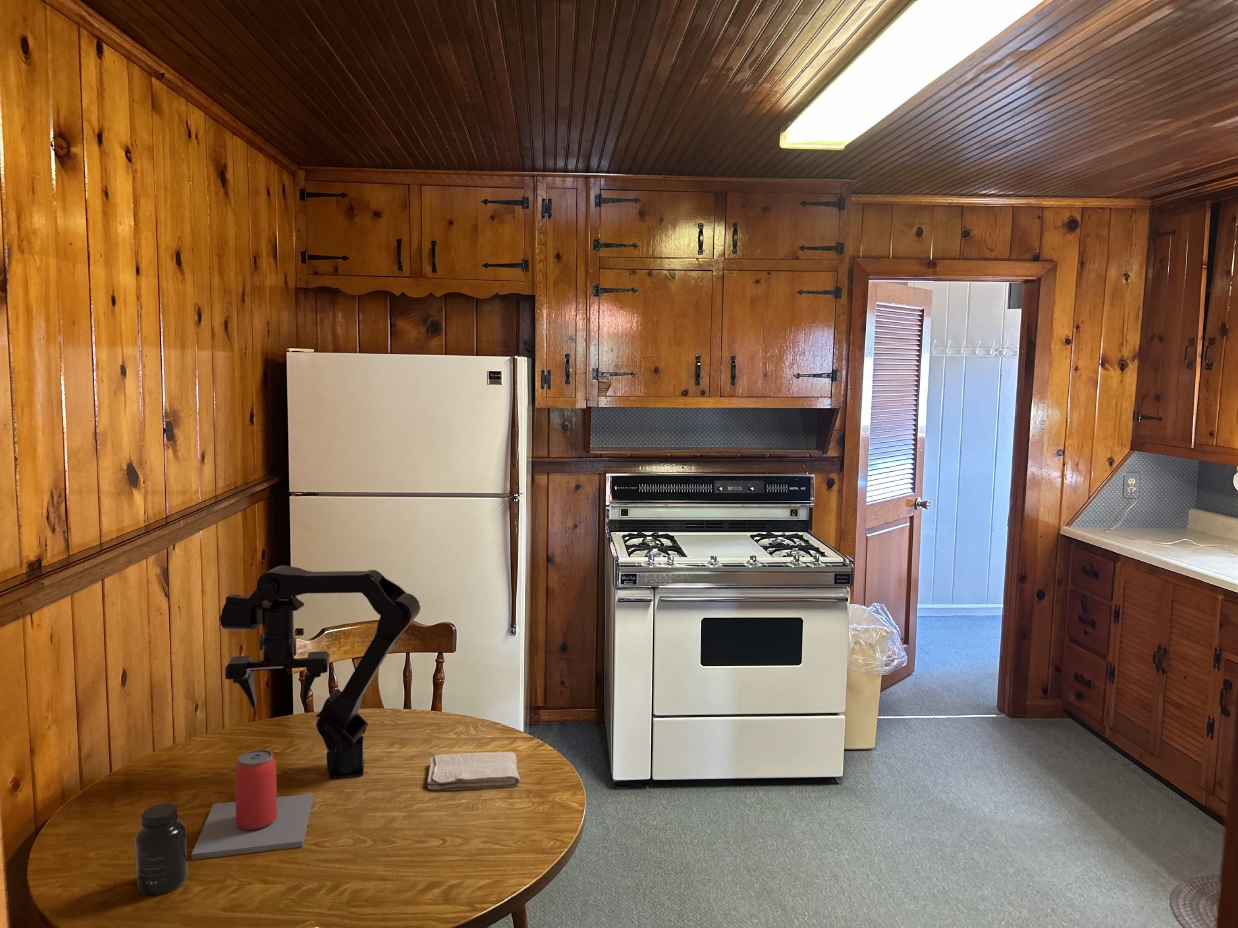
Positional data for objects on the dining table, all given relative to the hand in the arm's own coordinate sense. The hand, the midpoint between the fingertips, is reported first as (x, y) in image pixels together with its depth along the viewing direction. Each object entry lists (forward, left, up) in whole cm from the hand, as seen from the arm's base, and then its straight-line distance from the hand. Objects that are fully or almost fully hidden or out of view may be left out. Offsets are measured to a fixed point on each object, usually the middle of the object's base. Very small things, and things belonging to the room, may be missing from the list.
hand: (279, 705), depth 161 cm
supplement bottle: (+12, +35, -13) cm, 40 cm away
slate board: (+1, +22, -13) cm, 26 cm away
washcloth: (-38, +11, -14) cm, 42 cm away
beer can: (+1, +22, -12) cm, 25 cm away
